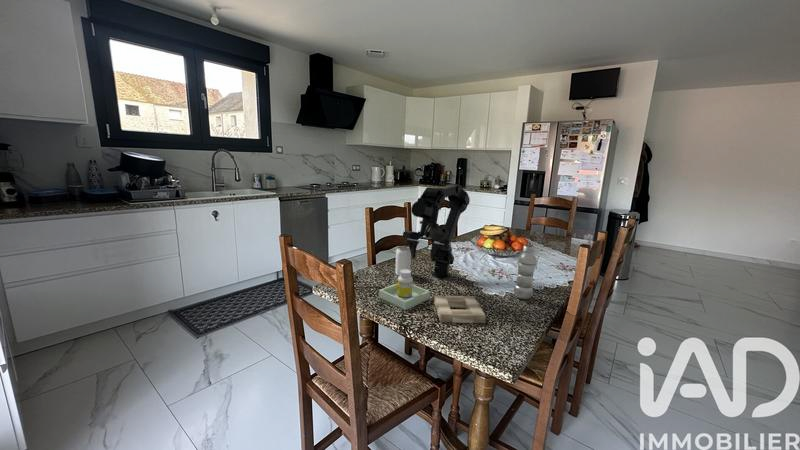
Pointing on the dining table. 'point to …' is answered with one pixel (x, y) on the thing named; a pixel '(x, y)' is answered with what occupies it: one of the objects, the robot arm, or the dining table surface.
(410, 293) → the supplement bottle
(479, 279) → the dining table surface
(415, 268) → the dining table surface
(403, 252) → the can
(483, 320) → the socket block
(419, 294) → the tray
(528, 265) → the plastic bottle
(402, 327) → the dining table surface
